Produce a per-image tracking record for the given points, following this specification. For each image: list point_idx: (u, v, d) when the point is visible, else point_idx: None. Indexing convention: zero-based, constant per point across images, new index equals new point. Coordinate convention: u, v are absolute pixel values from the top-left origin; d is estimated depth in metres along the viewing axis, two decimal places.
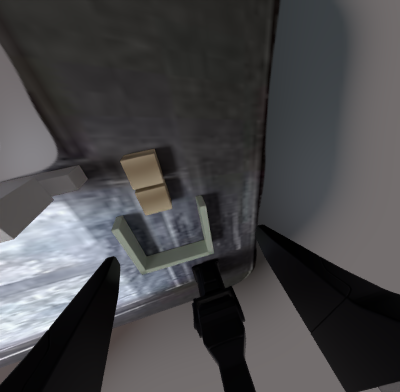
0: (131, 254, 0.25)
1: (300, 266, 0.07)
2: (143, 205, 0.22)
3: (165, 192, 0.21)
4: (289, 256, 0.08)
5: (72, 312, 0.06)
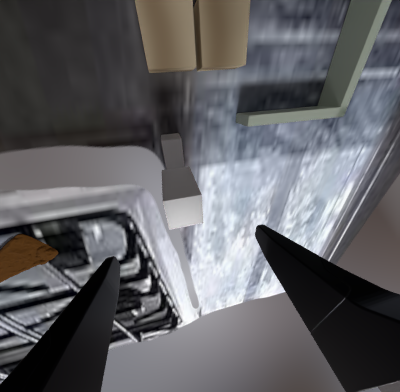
0: (298, 116, 0.17)
1: (300, 266, 0.07)
2: (226, 60, 0.13)
3: None
4: (289, 256, 0.08)
5: (72, 312, 0.06)
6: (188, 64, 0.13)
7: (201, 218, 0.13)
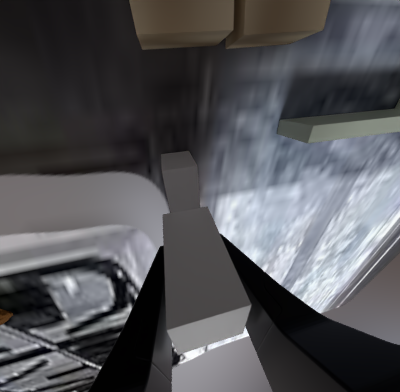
0: (386, 125, 0.10)
1: (242, 282, 0.07)
2: (289, 20, 0.07)
3: None
4: None
5: (149, 292, 0.06)
6: (218, 24, 0.06)
7: (241, 330, 0.07)
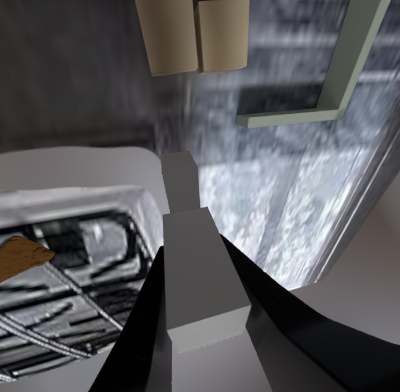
0: (297, 118, 0.17)
1: (242, 282, 0.07)
2: (227, 63, 0.13)
3: (212, 4, 0.11)
4: None
5: (149, 292, 0.06)
6: (190, 66, 0.13)
7: (241, 330, 0.07)
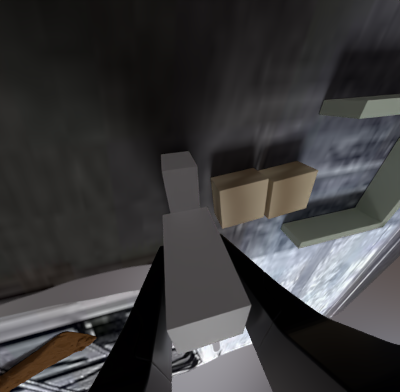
0: (344, 234, 0.18)
1: (242, 282, 0.07)
2: (289, 210, 0.14)
3: (284, 181, 0.12)
4: None
5: (149, 292, 0.06)
6: (257, 217, 0.14)
7: (241, 330, 0.07)
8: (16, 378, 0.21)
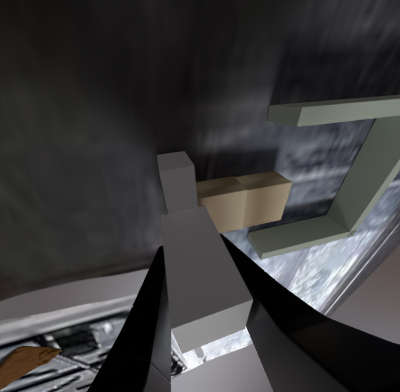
0: (309, 244, 0.17)
1: None
2: (263, 220, 0.14)
3: (258, 190, 0.12)
4: None
5: (148, 292, 0.06)
6: (235, 228, 0.13)
7: (243, 325, 0.07)
8: None
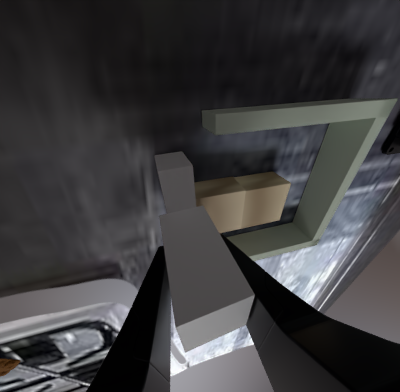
0: (268, 254, 0.16)
1: None
2: (262, 221, 0.14)
3: (256, 191, 0.12)
4: None
5: (148, 292, 0.06)
6: (233, 228, 0.13)
7: (244, 321, 0.07)
8: None
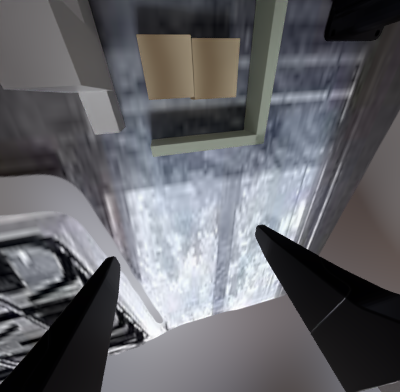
0: (210, 145, 0.16)
1: (300, 266, 0.07)
2: (217, 93, 0.14)
3: (204, 41, 0.12)
4: (289, 256, 0.08)
5: (72, 312, 0.06)
6: (186, 95, 0.14)
7: (71, 69, 0.07)
8: None
